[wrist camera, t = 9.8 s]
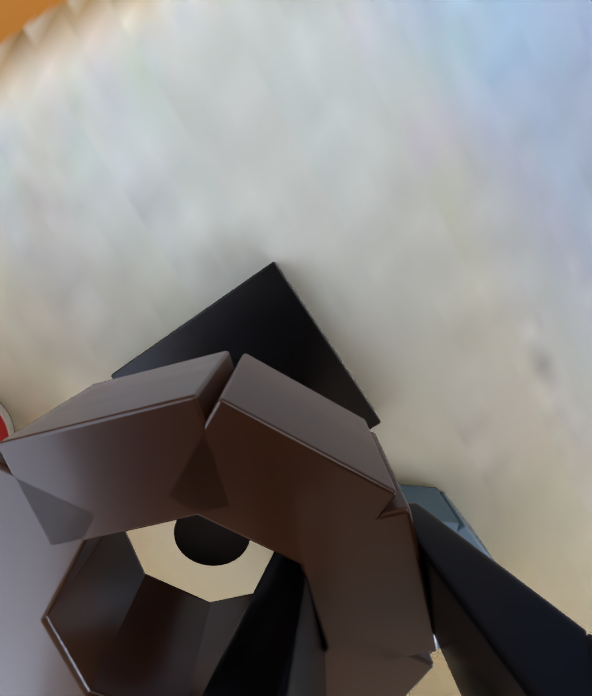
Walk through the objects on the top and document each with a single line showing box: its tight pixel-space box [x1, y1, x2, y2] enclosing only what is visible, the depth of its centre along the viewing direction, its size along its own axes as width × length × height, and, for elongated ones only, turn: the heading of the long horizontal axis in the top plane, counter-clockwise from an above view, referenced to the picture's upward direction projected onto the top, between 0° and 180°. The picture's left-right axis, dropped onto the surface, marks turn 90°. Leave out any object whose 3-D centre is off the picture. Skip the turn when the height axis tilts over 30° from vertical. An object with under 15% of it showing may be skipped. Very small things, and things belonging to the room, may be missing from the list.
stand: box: [112, 262, 380, 566], centre depth 12 cm, size 9×9×9 cm
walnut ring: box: [0, 351, 438, 696], centre depth 7 cm, size 9×9×3 cm
